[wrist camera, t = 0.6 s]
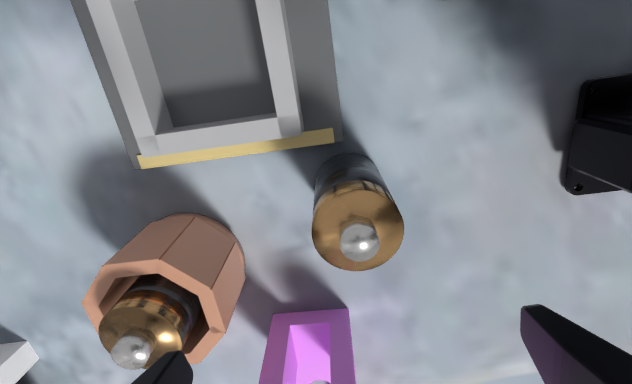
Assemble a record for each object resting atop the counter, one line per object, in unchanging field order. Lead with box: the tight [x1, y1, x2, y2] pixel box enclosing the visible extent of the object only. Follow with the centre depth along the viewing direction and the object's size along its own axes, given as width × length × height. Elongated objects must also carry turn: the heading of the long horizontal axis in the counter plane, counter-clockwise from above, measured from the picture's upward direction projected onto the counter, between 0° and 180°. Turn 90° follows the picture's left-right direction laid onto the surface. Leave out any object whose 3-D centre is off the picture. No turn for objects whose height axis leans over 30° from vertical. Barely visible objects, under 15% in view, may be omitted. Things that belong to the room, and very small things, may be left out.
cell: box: [312, 153, 404, 271], centre depth 16 cm, size 4×4×7 cm
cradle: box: [70, 0, 344, 170], centre depth 15 cm, size 12×10×3 cm
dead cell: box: [98, 273, 203, 370], centre depth 18 cm, size 4×4×7 cm
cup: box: [82, 213, 246, 364], centre depth 19 cm, size 7×7×5 cm
